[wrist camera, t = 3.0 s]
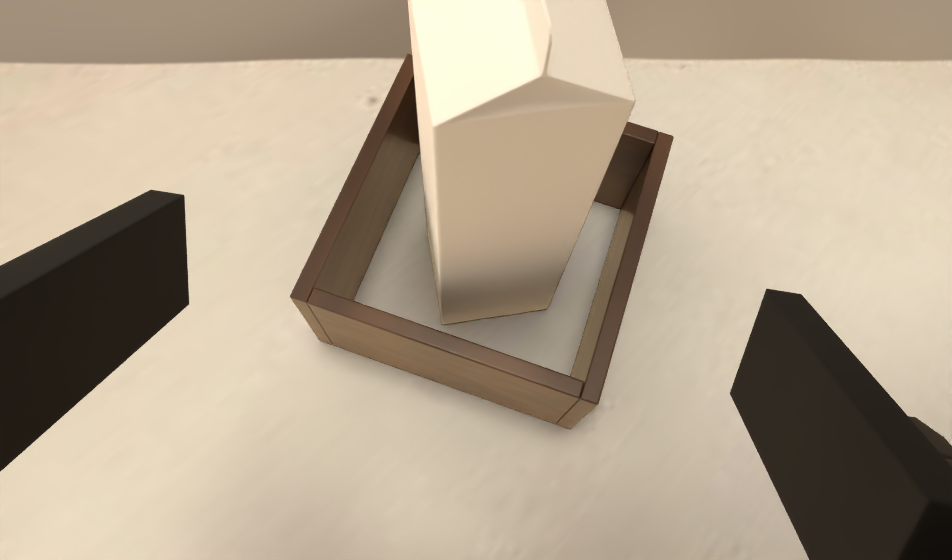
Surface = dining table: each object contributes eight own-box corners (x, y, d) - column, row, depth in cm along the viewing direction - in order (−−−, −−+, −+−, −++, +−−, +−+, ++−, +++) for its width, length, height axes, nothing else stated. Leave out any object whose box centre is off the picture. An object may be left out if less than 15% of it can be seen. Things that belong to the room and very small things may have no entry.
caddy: (637, 202, 39) (674, 135, 33) (570, 429, 34) (598, 405, 28) (414, 130, 40) (407, 52, 34) (319, 340, 35) (289, 296, 29)
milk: (527, 214, 39) (618, -153, 18) (548, 311, 36) (679, 20, 16) (423, 228, 38) (396, -136, 17) (439, 328, 36) (429, 47, 15)
